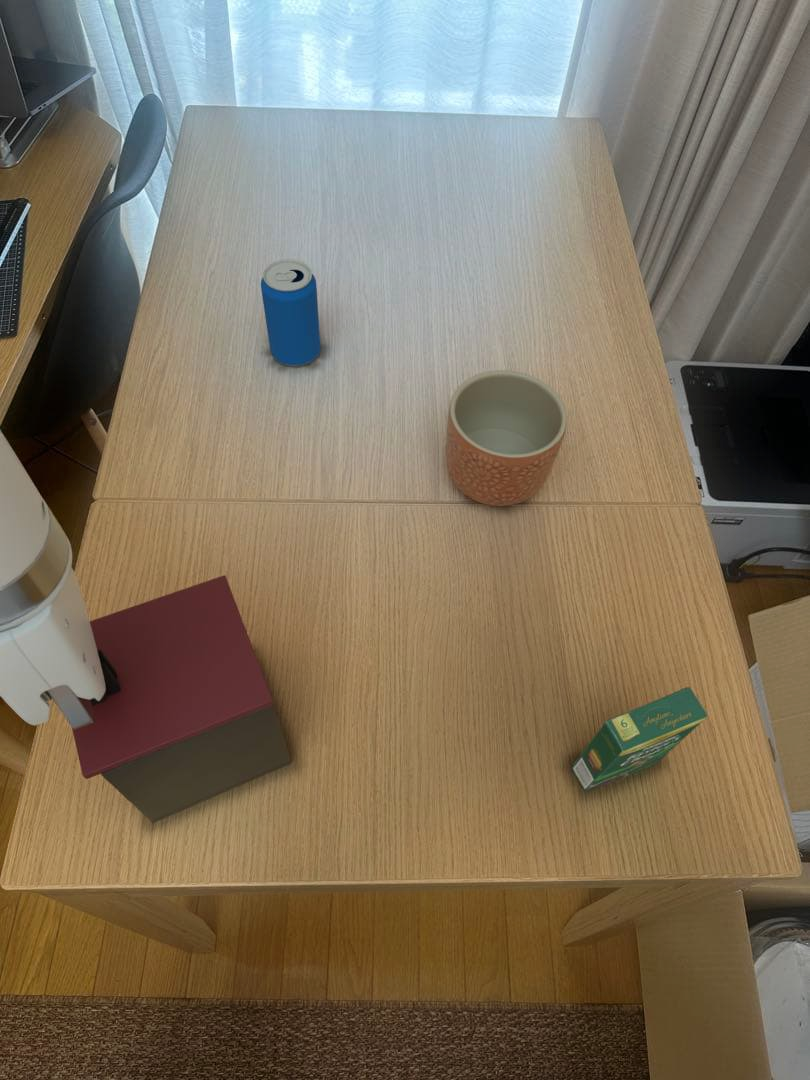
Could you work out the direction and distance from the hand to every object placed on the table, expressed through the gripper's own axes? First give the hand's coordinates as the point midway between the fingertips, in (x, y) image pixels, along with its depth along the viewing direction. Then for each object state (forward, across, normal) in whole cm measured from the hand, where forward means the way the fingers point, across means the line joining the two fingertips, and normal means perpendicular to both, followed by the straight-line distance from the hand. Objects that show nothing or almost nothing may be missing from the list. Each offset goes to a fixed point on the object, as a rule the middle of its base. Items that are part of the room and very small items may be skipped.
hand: (97, 689), depth 53 cm
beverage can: (+16, -44, +30) cm, 56 cm away
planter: (+16, -16, +44) cm, 50 cm away
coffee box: (+16, +18, +38) cm, 45 cm away
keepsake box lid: (+1, 0, +5) cm, 5 cm away
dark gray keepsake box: (+16, 0, +5) cm, 17 cm away
